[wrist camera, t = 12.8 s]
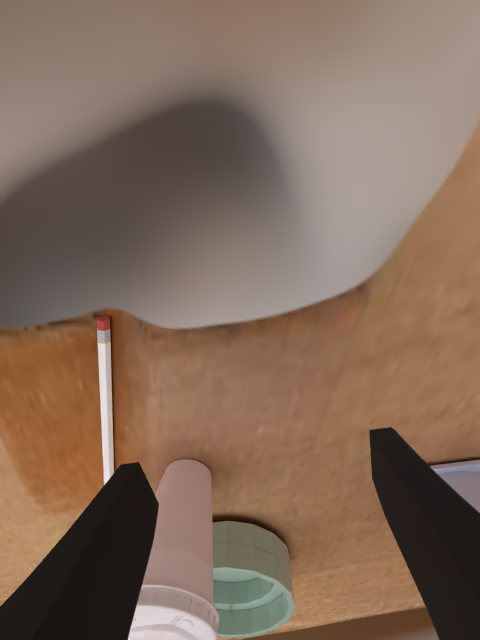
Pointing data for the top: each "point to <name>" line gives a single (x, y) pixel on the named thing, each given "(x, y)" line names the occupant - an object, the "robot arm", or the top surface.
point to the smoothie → (180, 560)
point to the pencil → (105, 394)
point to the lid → (250, 580)
